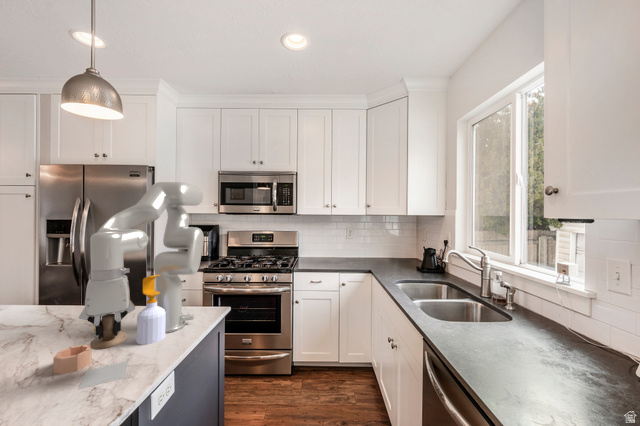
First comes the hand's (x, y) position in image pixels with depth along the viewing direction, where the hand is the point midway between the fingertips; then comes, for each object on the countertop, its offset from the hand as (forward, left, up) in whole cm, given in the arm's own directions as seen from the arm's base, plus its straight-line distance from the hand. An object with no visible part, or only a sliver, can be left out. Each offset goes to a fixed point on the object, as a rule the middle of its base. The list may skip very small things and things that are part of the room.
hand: (108, 334), depth 78 cm
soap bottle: (-11, -18, -12) cm, 24 cm away
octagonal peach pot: (+10, -9, -12) cm, 17 cm away
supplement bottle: (+6, -33, -12) cm, 36 cm away
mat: (+1, +1, -12) cm, 12 cm away
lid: (0, 0, -2) cm, 2 cm away
